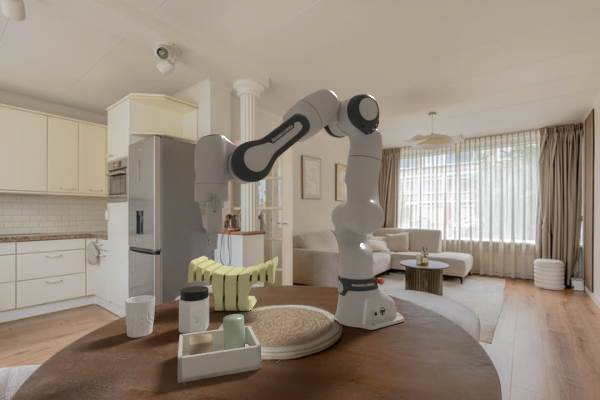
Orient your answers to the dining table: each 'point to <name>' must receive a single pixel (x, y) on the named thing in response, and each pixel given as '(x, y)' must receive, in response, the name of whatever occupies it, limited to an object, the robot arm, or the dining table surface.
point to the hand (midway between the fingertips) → (211, 247)
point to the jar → (193, 309)
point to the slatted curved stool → (231, 281)
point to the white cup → (139, 315)
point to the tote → (217, 357)
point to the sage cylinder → (234, 331)
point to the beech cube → (200, 344)
